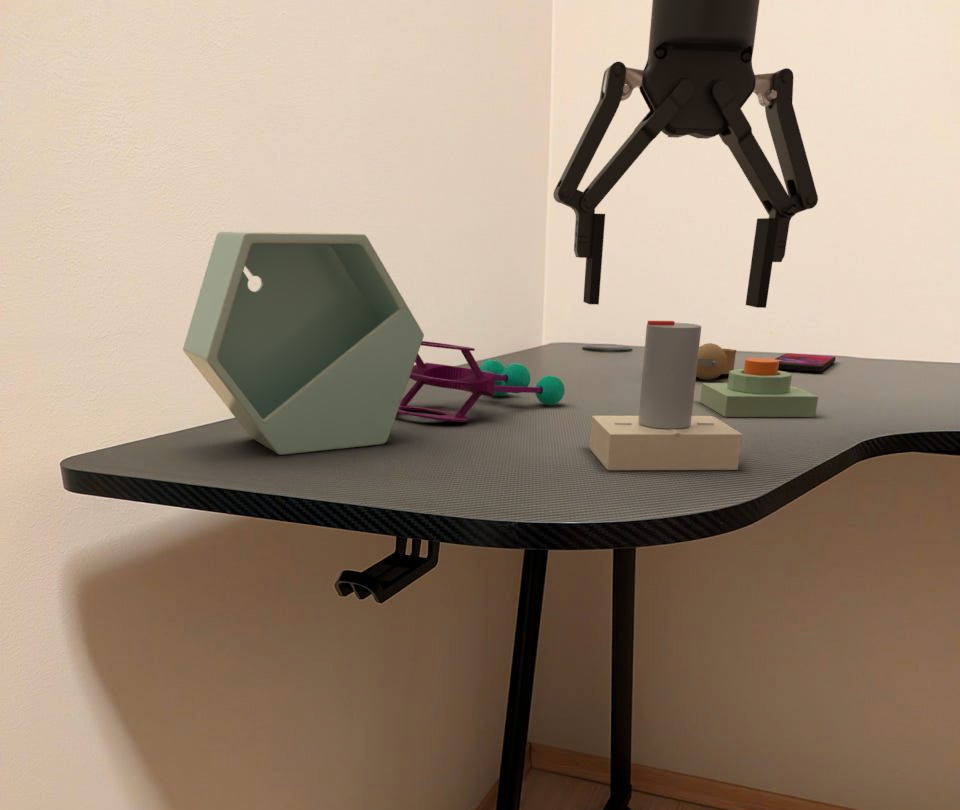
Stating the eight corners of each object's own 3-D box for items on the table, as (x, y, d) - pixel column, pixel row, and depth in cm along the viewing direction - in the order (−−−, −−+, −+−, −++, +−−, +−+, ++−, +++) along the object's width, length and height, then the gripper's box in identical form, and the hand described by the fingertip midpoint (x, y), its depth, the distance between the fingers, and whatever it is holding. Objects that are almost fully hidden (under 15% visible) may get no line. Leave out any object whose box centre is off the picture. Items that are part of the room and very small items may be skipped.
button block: (783, 402, 106) (789, 367, 104) (815, 417, 98) (821, 379, 96) (700, 402, 105) (704, 366, 104) (724, 417, 97) (729, 378, 96)
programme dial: (682, 418, 80) (693, 318, 76) (697, 428, 76) (708, 323, 72) (633, 418, 79) (641, 318, 76) (645, 429, 75) (654, 323, 72)
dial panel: (707, 448, 83) (712, 413, 82) (739, 471, 75) (744, 432, 74) (589, 448, 82) (591, 413, 81) (608, 471, 74) (611, 432, 73)
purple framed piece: (570, 421, 102) (578, 356, 100) (439, 421, 89) (445, 346, 86) (492, 406, 110) (498, 345, 108) (361, 404, 96) (365, 335, 94)
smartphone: (837, 356, 140) (822, 366, 128) (835, 362, 140) (821, 373, 128) (785, 352, 143) (766, 362, 131) (784, 358, 143) (765, 368, 131)
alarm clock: (741, 349, 129) (728, 339, 115) (736, 385, 130) (723, 380, 116) (663, 344, 132) (641, 335, 119) (658, 379, 134) (637, 374, 120)
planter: (315, 502, 81) (159, 299, 68) (286, 482, 87) (137, 292, 75) (454, 385, 84) (328, 169, 71) (416, 373, 90) (294, 173, 77)
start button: (769, 374, 102) (772, 357, 101) (781, 378, 99) (784, 362, 98) (738, 373, 102) (740, 357, 101) (749, 378, 98) (751, 362, 98)
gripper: (852, 7, 69) (804, 304, 78) (527, -7, 67) (515, 298, 76) (900, -17, 62) (842, 311, 71) (540, -34, 60) (526, 305, 69)
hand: (673, 305), depth 73 cm, fingers open, 13 cm apart
